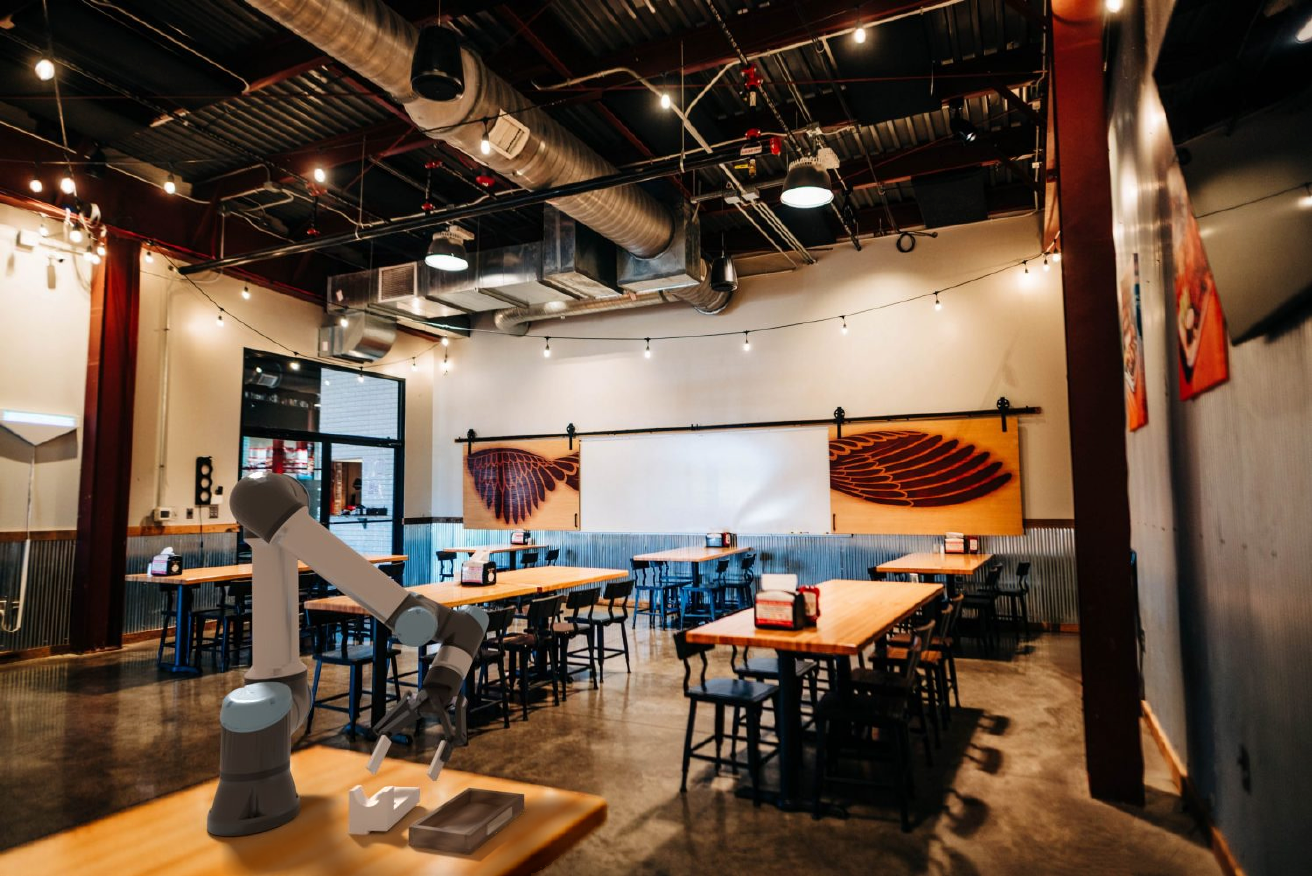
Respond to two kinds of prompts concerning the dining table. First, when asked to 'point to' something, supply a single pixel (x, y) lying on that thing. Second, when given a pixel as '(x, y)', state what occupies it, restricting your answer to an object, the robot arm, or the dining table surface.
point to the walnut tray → (466, 820)
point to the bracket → (380, 808)
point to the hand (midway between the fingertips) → (400, 774)
